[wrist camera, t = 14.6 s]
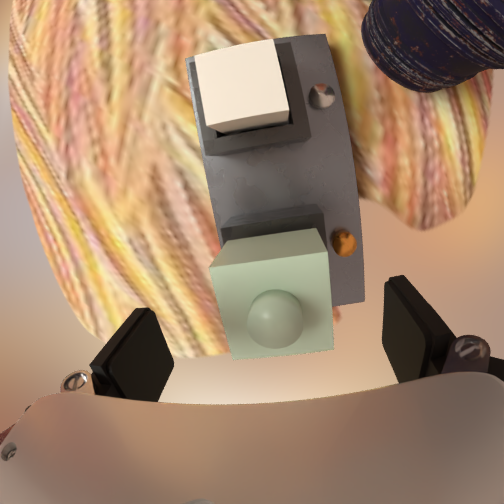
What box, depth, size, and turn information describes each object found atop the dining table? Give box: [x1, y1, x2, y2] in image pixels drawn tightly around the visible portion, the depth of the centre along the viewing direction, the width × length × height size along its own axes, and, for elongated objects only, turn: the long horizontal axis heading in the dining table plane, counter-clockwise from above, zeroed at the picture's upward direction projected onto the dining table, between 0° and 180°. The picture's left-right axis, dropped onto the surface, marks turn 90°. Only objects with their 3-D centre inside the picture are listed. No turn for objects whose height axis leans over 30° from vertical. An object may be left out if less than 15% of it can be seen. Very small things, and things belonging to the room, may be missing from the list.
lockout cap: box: [209, 228, 334, 360], centre depth 14 cm, size 5×5×6 cm
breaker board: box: [185, 34, 365, 307], centre depth 19 cm, size 22×11×6 cm, turn 10°
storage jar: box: [361, 0, 504, 93], centre depth 10 cm, size 10×10×15 cm
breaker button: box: [194, 39, 289, 135], centre depth 14 cm, size 4×4×5 cm
